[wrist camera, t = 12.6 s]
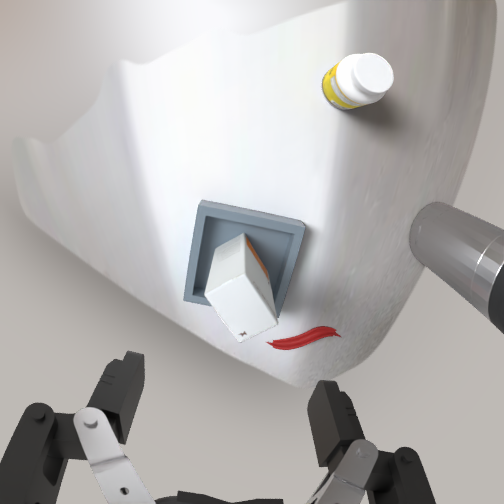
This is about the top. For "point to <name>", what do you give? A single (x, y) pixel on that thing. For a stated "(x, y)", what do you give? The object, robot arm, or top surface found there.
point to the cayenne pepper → (304, 338)
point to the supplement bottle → (357, 81)
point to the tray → (260, 236)
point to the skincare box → (241, 289)
